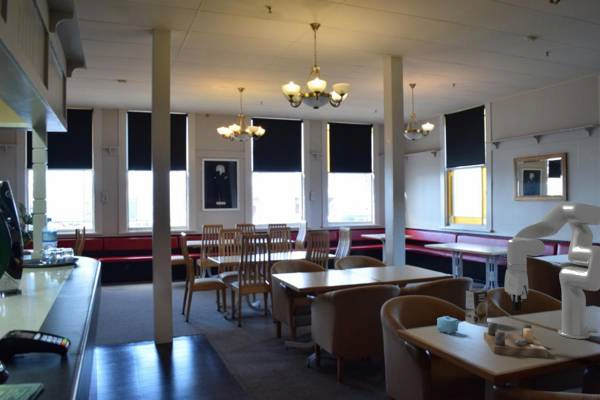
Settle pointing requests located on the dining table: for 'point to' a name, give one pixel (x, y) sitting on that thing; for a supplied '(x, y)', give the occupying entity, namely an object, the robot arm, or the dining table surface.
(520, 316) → the dining table surface
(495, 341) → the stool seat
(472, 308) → the coffee box
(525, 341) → the hinged leg
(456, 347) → the dining table surface
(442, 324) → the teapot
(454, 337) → the dining table surface
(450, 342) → the dining table surface
